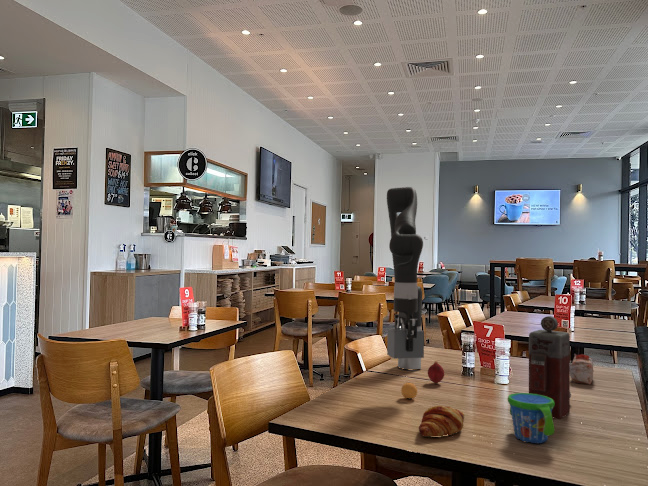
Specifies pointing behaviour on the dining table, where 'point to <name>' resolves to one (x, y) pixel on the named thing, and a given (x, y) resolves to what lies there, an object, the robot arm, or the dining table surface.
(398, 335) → the grey rectangular box
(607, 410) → the dining table surface
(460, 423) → the croissant
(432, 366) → the onion
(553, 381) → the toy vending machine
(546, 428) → the snack cup
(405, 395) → the ball
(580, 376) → the food item
